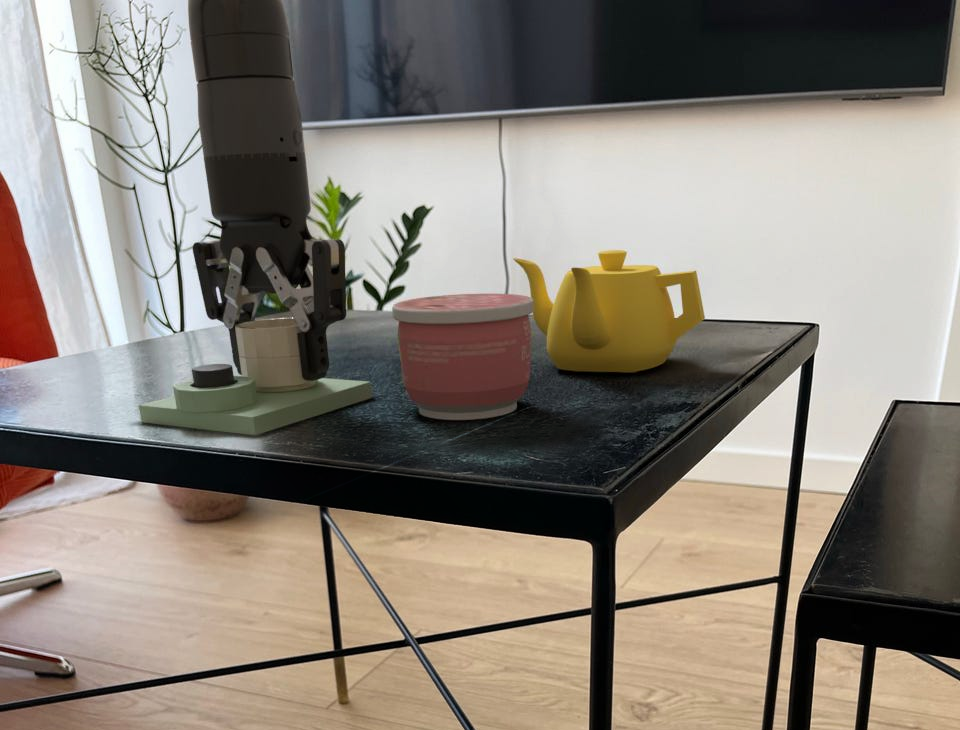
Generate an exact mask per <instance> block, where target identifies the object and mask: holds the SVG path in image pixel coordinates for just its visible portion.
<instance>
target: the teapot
mask: <svg viewBox="0 0 960 730" xmlns="http://www.w3.org/2000/svg"><path fill="white" fill-rule="evenodd" d="M627 253H628V251H626V250H623V249H621V250H620V249H609V250H601V251H599V252H598V253H597V255H598V259H599V262H600V265H593V266H585V267H571V268H570V270H568V271H567V272H566V273H565V274H564V276H563V278H562V281H561V283H560V285H559V288H558V291H557V294H556V297H555V298H554V302H552V300H551V298H550V297H549V293H548V290H547V286H546V281H545V280H546V279H545V276H544V274H543V272H542V270H541V268H540V266H539V265H538V264H537V263H535V262H534V261H530V260H526V259H521V258H518V257H517V258H516V257H515V258H514V257H513V258H512V260H513V261H514V262H515V263H517V264H518V265H519V266H520V267H521V268H522V269H523V271H524V273H525V274H526V277H527V279H528V283H529V285H528V286H529V291H530V292H529V293H530V298H532V299H533V301H534V311H533V312H532V313H531V314H532V317H533V320H534V322H535V325H536V326H537V327H538V329H539V330H540V331H541V333H543V334H544V335H545V336H546V351H547V353H548V355H549V358H550V359H551V361H552V363H553V364H554V366H555V367H556V368H557V369H559V370H563V371H572V372H591V373H595V372H596V373H623V374H625V373H626V374H631V373H637V372H639V371H640V372H641V371H646V370H649V369H653V368H655V367H658V366H660V365H663V364H664V363H665V362H666V361H667V359H668V358H669V357H670V355H671V353H672V352H673V350H674V348H675V346H676V344H677V340H678V339H680V338H681V337H682V336H684V335H685V334H687V333H688V332H689V331H691V330H692V329H693V328H694V327H695V326H697V325H698V324H699V323H701V322H703V321H704V320H705V319H706V317H705V309H704V305H703V300H702V295H701V290H700V284H699V279H698V273H697V270H688V271H679V272H670V273H661V270H660V269H659V267H658V266H657V265H650V264H649V265H648V264H647V265H646V264H642V265H641V264H628V265H627V264H626V265H625V260H626V257H627ZM677 285H679V286H680V296H681V307H682V314H680V315H679V316H678V317H676V316H675V311H674V308H673V302H672V300H671V297H670V293H669V290H668V287H672V286H677ZM675 317H676V318H675Z"/></svg>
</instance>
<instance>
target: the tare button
mask: <svg viewBox="0 0 960 730" xmlns="http://www.w3.org/2000/svg"><path fill="white" fill-rule="evenodd" d="M191 374H192V380H193V381H194V387H196V388H211V387H221V386H228V385H232V384H235V382H234V376H235V375H234V368H233V365H232V364H229V363H210V364H203V365H198V366H194V367H192V368H191Z"/></svg>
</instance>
